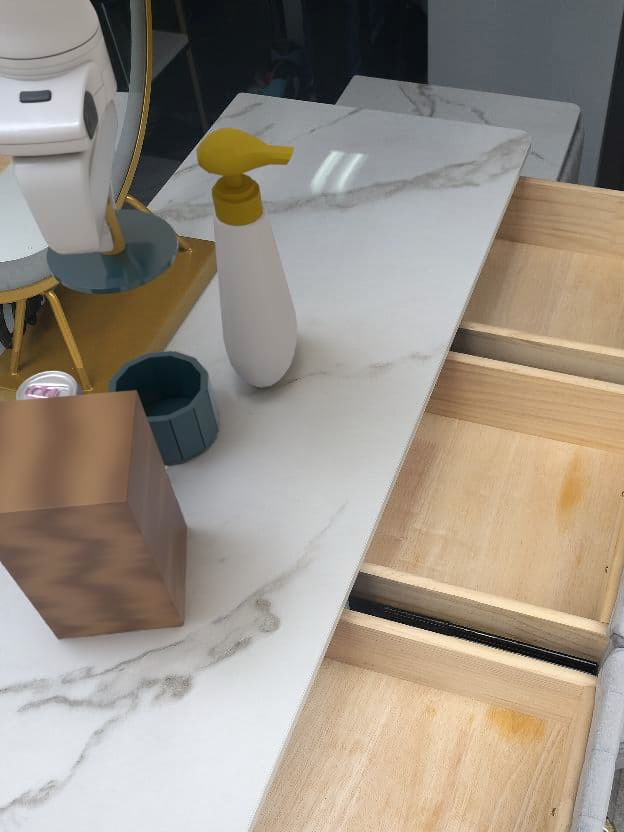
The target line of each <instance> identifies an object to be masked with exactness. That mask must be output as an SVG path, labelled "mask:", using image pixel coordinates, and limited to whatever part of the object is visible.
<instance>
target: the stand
mask: <svg viewBox="0 0 624 832" xmlns="http://www.w3.org/2000/svg"><path fill="white" fill-rule="evenodd" d="M168 473H169V472H168V471H167V468H166V465H164V463H163V460H162V457H161V455H160V452H159V449H158V446H157V444H156V441H155V438H154V436H153V433H152V430H151V428H150V425H149V422H148V420H147V417H146V414H145V411H144V409H143V406H142V403H141V401H140V398H139V395H138V393H137V390H133V391H121V392H109V393H108V392H98V393H87V394H85V393H84V395H73V396H61V397H49V398H37V399H25V400H16V399H14V400H13V399H12V400H3V401H2V400H1V401H0V563H1V565H2V566H3V567H4V568H5V570H6V571H7V573H8V574H9V576H10V577H11V578H12V579H13V581H14V582H15V584H16V585H17V587H18V588H19V589H20V590H21V592H23V594H24V596H25V597H26V598H27V600H28V601H29V603H30V604H31V605H32V606H33V608H34V609H35V611H36V612H37V613H38V615H39V616H40V617H41V619H42V620H43V621H44V623H45V624H46V625H47V627H48V628H49V629H50V631H51V632H52V633H53V634H54V636H55V637H56V639H58V640H61V639H70V638H78V637H79V638H80V637H88V636H89V637H90V636H97V635H108V634H117V633H128V632H136V631H137V632H138V631H146V630H147V631H148V630H156V629H166V628H174V627H175V628H176V627H183V626H184V625H185V599H186V576H187V575H186V574H187V573H186V572H187V570H186V569H187V547H188V546H187V544H188V543H187V541H188V524H187V521H186V519H185V516H184V514H183V511H182V508H181V506H180V503H179V500H178V497H177V495H176V492H175V490H174V487H173V484H172V481H171V479H170V476H169V474H168Z"/></svg>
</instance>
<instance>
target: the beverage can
mask: <svg viewBox="0 0 624 832" xmlns="http://www.w3.org/2000/svg"><path fill="white" fill-rule="evenodd" d="M73 395H85V393H84V390H83V389H82V387H81V386H80V384H78V382H77V381H76V378H74V377H73V376H72V375H71V374H69V373H67V372H64V371H62V370H61V371H60V370H46V371H42V372H39V373H36V374H33V375H32V376H30V377H28V378H26V380H24V381H23V382H22V383H21V384H20V385H19V387H18V388H17V391H16V394H15V400H25V399H37V398H49V397H61V396H73Z"/></svg>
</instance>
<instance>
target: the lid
mask: <svg viewBox="0 0 624 832" xmlns="http://www.w3.org/2000/svg"><path fill="white" fill-rule="evenodd" d="M117 210H118V216H117V217H116V214H115V211H114V208H113V205H112V201H111V199H110V197H109V196H108V199H107V206H106V213H105V221H106V223H110V225H111V228H112V232H113V234H114V246H113V250H112V251H107V252H93V253H84V254H69V255H61V254H58V253H56V252H55V251H54V250H52V249H51V248H50V247H49V246H48V247H47V251H46V256H45V257H46V258H45V259H46V264H47V267H48V270H49V272H50V274H51V275H52V277H53V278H54V279H55V280H56V281H57V282H58V283H59V284H61V285H62V286H64V287H66V288H67V289H70V290H73V291H76V292H80V293H83V294H90V295H91V294H92V295H111V294H119V293H124V292H127V291H132V290H134V289H138V288H140V287H143V286H145V285H148V284H149V283H151V282H153V281H155V280H156V279H158V278H159V277H161V276H162V275H163V274H164V273H165V272H166V271H168V269H169V268H170V267H171V266H172V265H173V263H174V262H175V260H176V258H177V255H178V252H179V240H178V237H177V233H176V231H175V229H174V228H173V227H172V225H171V224H170V223H169V222H168V221H166V219H163V218H162V217H160V216H159V215H157V214H154V213H151V212H148V211H144V210H139V209H138V210H137V209H117Z"/></svg>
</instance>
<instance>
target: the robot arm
mask: <svg viewBox="0 0 624 832" xmlns="http://www.w3.org/2000/svg"><path fill="white" fill-rule="evenodd" d="M106 45H107V44H106V42H105V37H104V35H103V30H102V27H101V23H100V20H99V17H98V14H97V11H96V10H95V7H94V6H93V4H92V2H91V1H90V0H0V156H1V157H11V163H12V168H13V172H14V174H15V178H16V181H17V184H18V186H19V190H20V191H21V194H22V196H23V198H24V200H25V202H26V205H27V207H28V209H29V212H30V213H31V215H32V217H33V219H34V221H35V224H36V225H37V228H38V229H39V232H40V234H41V236H42V237H43V240H44V241H45V243H46V244H47V246H48V247H50V248H51V249H52V250H54V251H55V252H56V253H58V254H61V255H69V254H84V253H93V252H107V251H112V250H113V246H114V234H113V232H112V228H111V225H110V223H106V221H105V213H106V206H107V199H108V196H109V197H110V199H111V201H112V205H113V208H114V211H115V214H116V217H117V216H118V210H119V209H118V207H117V204H116V202H115V197H114V188H113V181H112V170H113V165H114V163H113V162H114V157H115V149H116V142H117V136H118V128H119V119H118V114H117V108H116V105H115V101H114V98H115V96H116V94H117V92H118V84H117V80H116V76H115V72H114V70H113V67H112V63H111V59H110V55H109V52H108V48H107V46H106Z"/></svg>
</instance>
